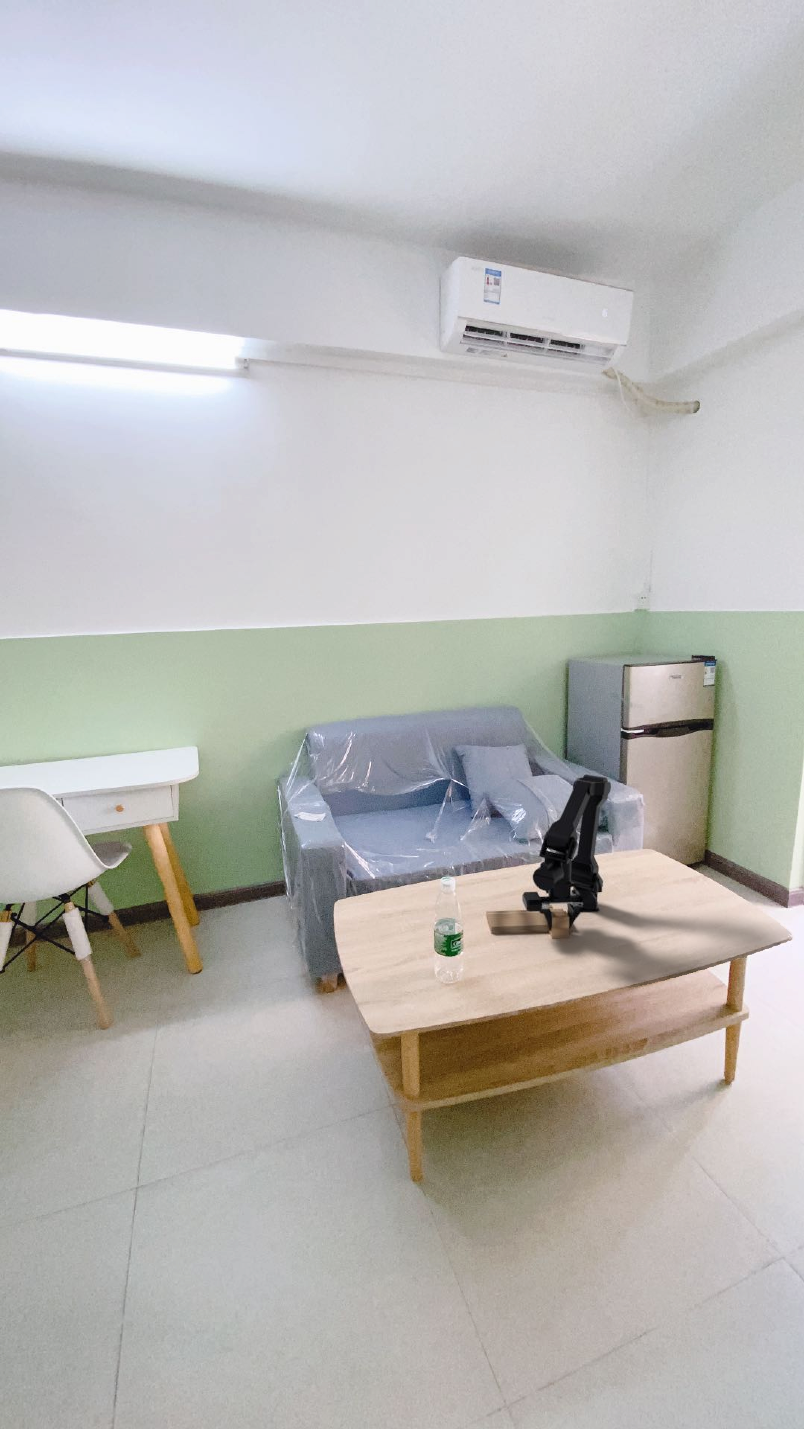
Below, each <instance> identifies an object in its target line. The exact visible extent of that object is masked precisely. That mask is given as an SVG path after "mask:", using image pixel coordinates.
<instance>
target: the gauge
mask: <svg viewBox="0 0 804 1429" xmlns="http://www.w3.org/2000/svg"><path fill="white" fill-rule="evenodd" d="M549 909H550V910H551V917H552V928H551V931H550V930H549V932H548V933H549V935H550V937H551V939H568V938H569V937H570V931H569V916H568V914H567V911H566V910H564V911H554V909H555V908H554V907H553V904H549Z"/></svg>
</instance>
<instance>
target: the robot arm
mask: <svg viewBox="0 0 804 1429" xmlns="http://www.w3.org/2000/svg"><path fill="white" fill-rule="evenodd" d="M611 789H612V784H611V782H610V781H609V780H608V778H607V777H605V776H598V775H593V774H584V775H583V776H582V777H576V779H575V780H574V781H573V784H572V791H571V793H570V795H569V798H568V800H567V802H566V804H565V807H564V809H563V811H562V814H561V815H560V817H559V819H558V820H555V821H554V822H553V823H551V825H550V827H549V828H548V830H547V831H546V832H545V834H544V837H543V841H542V845H541V848H540V851H539V854H538V857H539V858H543V859H544V861H542V862H541V863H540V864H539V866H538V867H537V868H536V869H535V870H534V872H533V874H532V881H533V884H534V885H535V886H536V887H537V888H538V889H539V890H542V891H545V893H546V894H547V896H540V894H539V893H538V891H524V892H523V893H522V899H521V900H522V903H523V905H524V908H525V910H527V911H529V912H530V911H539V912H540V913H541V914H544V916H545V919H546V922H547V925H548V928H549V930H550V931H551V928H552V917H551V910H550V909H549V905H559V904H560V905H561V904H564V905H565V904H567V905H566V906H567V911H566V912H567V914H568V916H569V929H570V928H571V926H572V927H573V924H574V923H575V921H576V920H577V918H578V917H579V916H580V915H581V913H590V912H591V913H593V912H597V913H598V912H600V908H599V907H598V906H599V905H598V904H599V903H598V896H599V895H598V894H600V893H603V887H604V880H603V879H602V877H601V875H600V873H599V869H600V868H599V867H600V866H599V865H598V862H597V860H596V858H595V854H596V846H597V838H598V829H599V821H600V815H601V814H600V813H601V807H602V806H603V805H604V803H605V802H606V801H607V800H608V798H609V794H610V792H611ZM580 820H581V821H580ZM580 822H581V824H580ZM579 824H580V831H579V838H578V834H577V833H578V832H577V828H578V825H579ZM549 850H550V851H549ZM552 851H553V852H552ZM554 851H555V852H554ZM576 851H577V854H576ZM574 856H575V857H574Z"/></svg>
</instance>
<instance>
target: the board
mask: <svg viewBox="0 0 804 1429" xmlns="http://www.w3.org/2000/svg"><path fill="white" fill-rule="evenodd" d="M553 909H554V911H565V910H564V908H553ZM485 917H486V920H487V924H488V927H489V931H490V933H491V934H493V935H494V934H513V933H514V934H516V933H517V934H518V933H541V932H542V933H545V932H547V933H549V928H548V925H547V922H546V919H545V916H544V914H541V913H540V912H539V911H530V912H529V911H527V910H526V909H518V910H516V909H514V910H490V911H487V910H486V916H485ZM572 929H573V925H572V926H571V928H570V929H569V932H572V931H573V930H572Z"/></svg>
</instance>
